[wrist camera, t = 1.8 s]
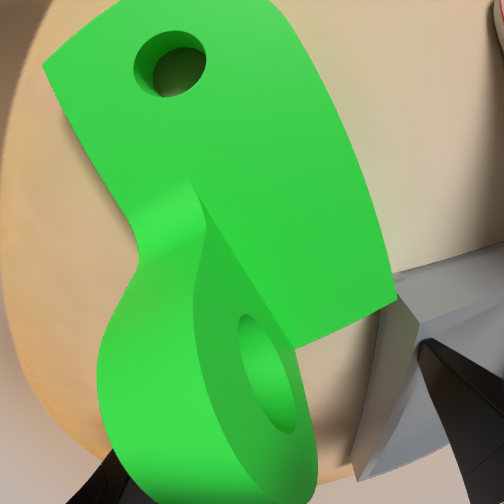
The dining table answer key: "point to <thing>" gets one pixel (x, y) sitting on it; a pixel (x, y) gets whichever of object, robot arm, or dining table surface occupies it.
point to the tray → (406, 349)
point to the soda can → (499, 20)
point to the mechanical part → (220, 243)
